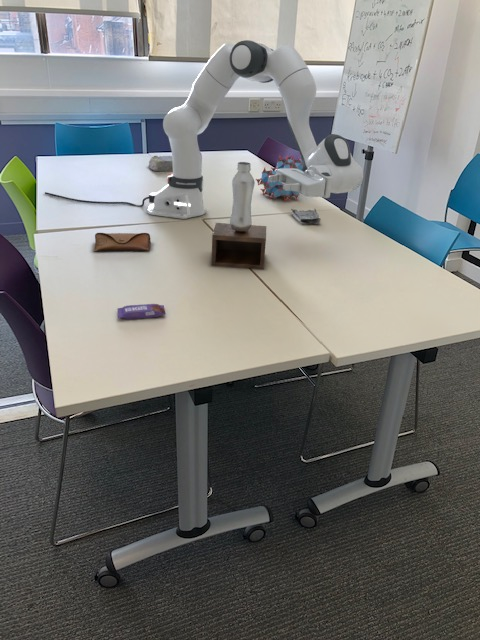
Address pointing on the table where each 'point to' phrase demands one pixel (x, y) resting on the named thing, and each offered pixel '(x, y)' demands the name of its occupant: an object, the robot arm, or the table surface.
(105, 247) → the sunglasses case
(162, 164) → the geological specimen
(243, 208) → the plastic bottle
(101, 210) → the table surface
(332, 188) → the robot arm
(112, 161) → the table surface
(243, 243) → the dark wooden box
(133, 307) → the snack package
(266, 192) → the molecule model
